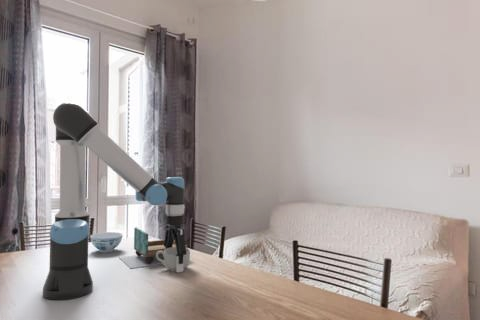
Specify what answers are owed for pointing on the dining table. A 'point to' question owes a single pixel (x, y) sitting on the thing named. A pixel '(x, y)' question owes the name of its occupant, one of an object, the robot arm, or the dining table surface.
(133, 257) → the track mat
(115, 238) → the chinaware
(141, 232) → the cart
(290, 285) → the dining table surface
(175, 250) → the teacup
